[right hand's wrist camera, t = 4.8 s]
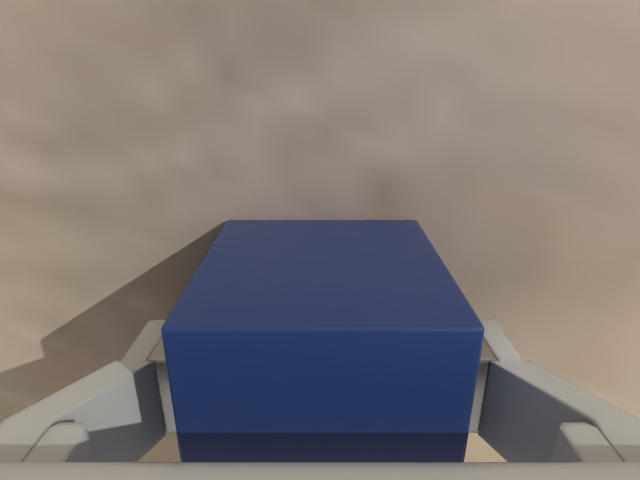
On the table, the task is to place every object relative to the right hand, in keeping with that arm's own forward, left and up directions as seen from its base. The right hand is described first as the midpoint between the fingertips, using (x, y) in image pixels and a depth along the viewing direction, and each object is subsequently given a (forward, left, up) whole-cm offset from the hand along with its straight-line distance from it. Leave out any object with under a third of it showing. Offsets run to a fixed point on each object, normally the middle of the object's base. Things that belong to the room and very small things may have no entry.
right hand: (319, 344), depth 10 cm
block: (0, 0, -2) cm, 2 cm away
